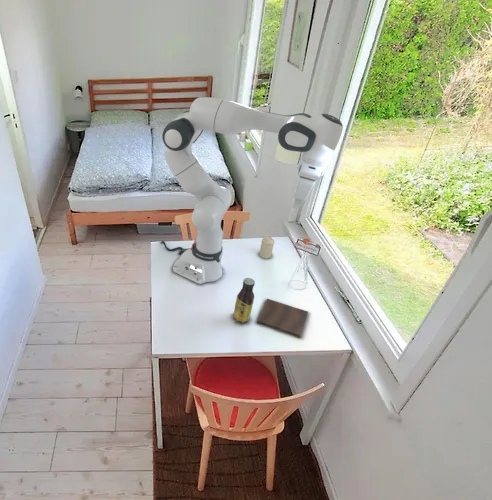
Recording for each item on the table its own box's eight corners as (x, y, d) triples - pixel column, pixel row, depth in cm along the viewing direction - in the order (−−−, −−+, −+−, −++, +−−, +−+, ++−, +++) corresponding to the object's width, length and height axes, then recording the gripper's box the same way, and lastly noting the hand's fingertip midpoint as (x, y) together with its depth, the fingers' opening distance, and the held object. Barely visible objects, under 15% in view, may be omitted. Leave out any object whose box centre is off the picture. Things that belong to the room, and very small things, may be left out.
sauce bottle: (229, 316, 151) (235, 277, 139) (242, 311, 153) (249, 272, 141) (239, 327, 146) (246, 288, 134) (253, 322, 148) (260, 283, 136)
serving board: (257, 322, 148) (257, 320, 147) (266, 300, 157) (267, 298, 157) (300, 337, 141) (300, 335, 140) (307, 313, 151) (308, 311, 150)
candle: (271, 259, 180) (275, 241, 174) (259, 258, 181) (262, 240, 175) (270, 252, 184) (274, 235, 179) (259, 251, 185) (262, 234, 180)
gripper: (305, 155, 135) (291, 190, 143) (299, 172, 119) (283, 210, 127) (323, 160, 133) (308, 195, 141) (319, 178, 118) (302, 216, 125)
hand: (296, 202), depth 134 cm, fingers open, 8 cm apart
